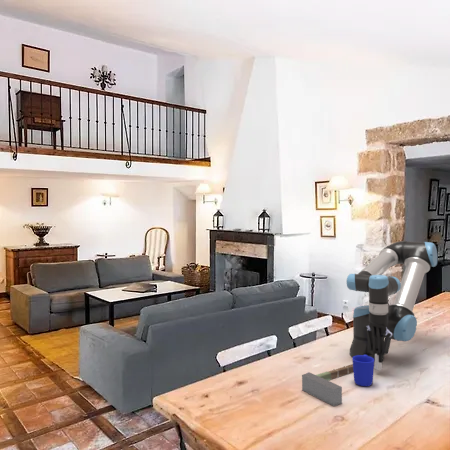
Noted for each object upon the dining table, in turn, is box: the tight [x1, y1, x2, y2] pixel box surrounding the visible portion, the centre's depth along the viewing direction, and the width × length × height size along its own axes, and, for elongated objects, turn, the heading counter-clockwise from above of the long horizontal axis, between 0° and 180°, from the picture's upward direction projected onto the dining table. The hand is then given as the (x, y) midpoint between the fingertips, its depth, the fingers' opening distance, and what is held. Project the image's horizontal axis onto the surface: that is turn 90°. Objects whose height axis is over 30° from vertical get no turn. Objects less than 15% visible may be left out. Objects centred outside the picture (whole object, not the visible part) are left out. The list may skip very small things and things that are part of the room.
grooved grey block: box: [301, 372, 343, 407], centre depth 157 cm, size 16×5×6 cm, turn 33°
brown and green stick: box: [316, 363, 354, 381], centre depth 174 cm, size 2×30×3 cm, turn 123°
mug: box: [351, 355, 375, 387], centre depth 169 cm, size 8×12×10 cm
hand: (378, 369), depth 177 cm, fingers closed
